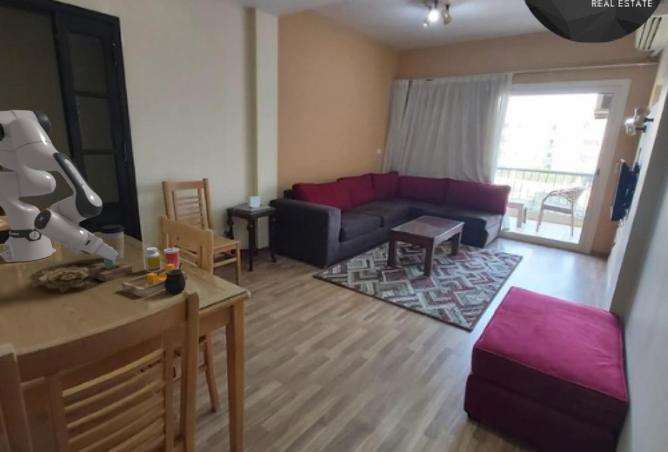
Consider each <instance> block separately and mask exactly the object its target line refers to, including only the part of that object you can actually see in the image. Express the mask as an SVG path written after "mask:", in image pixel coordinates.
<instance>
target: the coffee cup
mask: <svg viewBox="0 0 668 452" xmlns="http://www.w3.org/2000/svg"><path fill="white" fill-rule="evenodd" d="M124 231H125V228H124V227H123V225H121V224H108V225H105V226H101V229H100V233H101V234H102V237H103V238H102V240H103V242H104V243H105V244H107V245H108V246H110V247H113V249H114V250H115V251H116V252H117V253H118V255H117V256H116V258H117V259H116V260H120V259H123V258H124V248H125V244H124V243H125V234H124Z"/></svg>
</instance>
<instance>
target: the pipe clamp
mask: <svg viewBox="0 0 668 452" xmlns="http://www.w3.org/2000/svg"><path fill="white" fill-rule="evenodd" d="M165 268H166V270H165V272H163V273H161V274H160V275H159V276H158V277H157V274H155V273H152V272H149V273H150V274H149V273H147V274H148V275H147V279H148V283H147V286H149V285H152V284H154V283H157V282H159V281H162V280H165V279H166V277H167V276H166V272H167V271H169V270H172V269H175V265H174V264H168V265H165Z"/></svg>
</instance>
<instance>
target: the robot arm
mask: <svg viewBox="0 0 668 452" xmlns="http://www.w3.org/2000/svg"><path fill="white" fill-rule="evenodd" d="M51 132H52V124H51V121H50V118H49V117H48V116H47V114H45V113H44V112H43V111H41V110H36V109H30V110H27V109H26V110H25V109H10V110H0V166H1V167H3V168H5V169H8V170H10V171H0V207H1V208H2V209H3V211H4V213H5V214H6V215H5V216H6V218H7V221H8V224H9V229H8V235H9V237H8V239H7V240H6V241H5V242H4V245H3V244H2V245H1V250H2V252H0V257H1V258H2V259H3V261H4V262H5V263H14V262H15V263H16V262H17V263H18V262H31V261H37V260H41V259H45V258H47V257H50V256H51V255H53V253H56V252H57V249H56V248H53V246H52V242H51V241H53V242H55V243H59V244H61V245H62V246H63V247H64V248H66V249H68V250H69V251H72V252H74V253H75V254H78V255H81V254H86V255H87V254H88V255H92V256H95V257H99V258H102V259H104V258H105V259H108V260H111V261H116V260H118V259H117V258H116V256H117V255H118V253H117V252H116V251H115V250H114V249H112V248H111V247H110V246H108V245H107V244H105V243H104V240H103V238H101V237H99V236H96V235H95V234H93V233H92V232H90V231H88V230H87V229H86V228H84V227H81V226H79V224H80V222H82V221H85V220H87V219H90V218H93V217H96V216H99V215H100V214H101V212H102V210H103V206H104V205H103V204H104V203H103V200H102V198H101V197H100V195H98V194H97V193H96V191H94V189H93V188H92V187H91V186H90V184H89V183H88V181H87V180H86V179H85V177H84V176H83V174H82V173H81V171H80V170H79V168H78V167H77V165H75V163H74V161H72V159H71V158H70V157H69V156H68V155H66V154H65V153H63V152H60V151H58V150H57V149H56V148H55V146H54V145H53V143H52V141H51V139H50V136H49V135H50V134H51ZM53 171H54V172H58V174H59V173H60V174H61V176H62V177H63V178H64V180H65V181H66V182H67V184H68V186H69V187H70V188H71V190H72V192H73V193H72V195H70V196H68V197H66V198H64V199H61V200H59V201H57V202H55V203H53V204H51V205H50V206H49V207H48V209H45V210H42V211H40V209H39V208H38V207H37V206H35V205H33V204H30V203H26V202H22V201H21V200H20V199H19V198H21V197H23V198H24V197H34V196H45V195H48V194H52V193H53V192H54V191H55V189H56V187H57V182H56V179H55V177H54V176H53V175H52V174H51V173H49V172H53Z"/></svg>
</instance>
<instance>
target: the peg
mask: <svg viewBox="0 0 668 452" xmlns="http://www.w3.org/2000/svg"><path fill="white" fill-rule="evenodd" d="M111 248H112V249H113V247H111ZM115 261H116V260H115ZM115 261H111V260H108V259H105V258H103V262H104V263H103V264H104V265H105V270H107V271H109V270H112V269H116V267H115Z"/></svg>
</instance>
